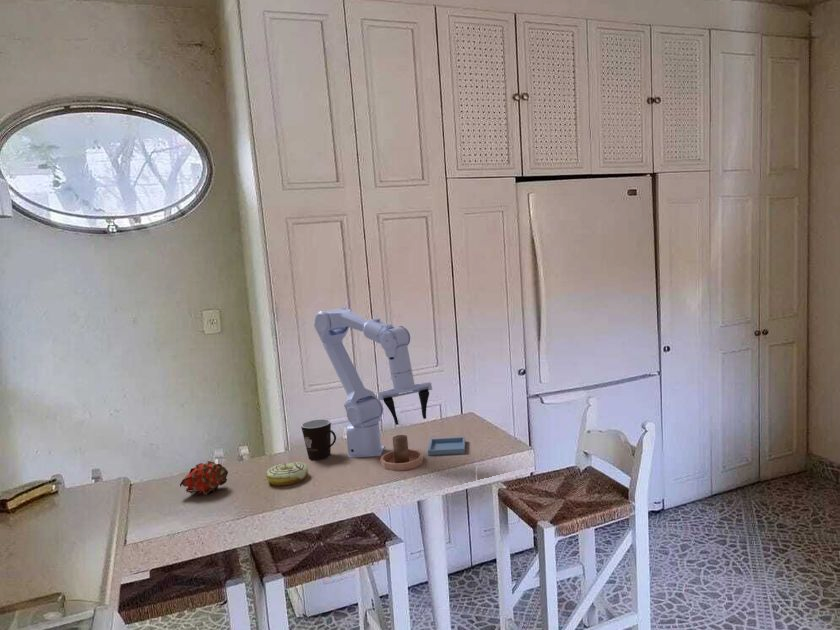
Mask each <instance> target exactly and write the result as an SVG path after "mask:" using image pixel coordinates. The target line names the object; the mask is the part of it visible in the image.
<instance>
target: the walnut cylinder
mask: <svg viewBox="0 0 840 630" xmlns="http://www.w3.org/2000/svg"><path fill="white" fill-rule="evenodd" d="M392 445H393V447H392V449H393V451H394V458H395V463H406V462H409V451H408V449H409V442H408V436H407V435H406V434H399V435H394V436H393V437H392Z"/></svg>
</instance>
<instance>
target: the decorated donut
mask: <svg viewBox="0 0 840 630" xmlns="http://www.w3.org/2000/svg"><path fill="white" fill-rule="evenodd" d="M308 473H309V471H308V465H307V464H306V463H304V462H300V461H290V462H282V463H278V464H276V465H272V466H271V467H269V468H268V470H266V480H267V481H268V482H269V483H270V485H271V484H272V486H275V485H277V486H276V487H279V486H281V485H282V486H283V485H287V486H291V485H294V484H297V483H298V482H301V481H303V479H304V480H305V479H306V478H307V475H308ZM290 484H291V485H290Z"/></svg>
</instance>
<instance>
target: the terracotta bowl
mask: <svg viewBox="0 0 840 630" xmlns="http://www.w3.org/2000/svg"><path fill="white" fill-rule="evenodd" d="M408 451H409V462H406V463H395V458H394V450H391V451H388V452H386V453H384V454H383V455H382V454H381V457H380V460H379V461H380V466H381V467H382V468H383V469H384V470H388V471H389V470H390V471H405V470H410V469H414V468H417V467H419V466H420V465H422V464H423V462H424V453H423V452H421V451H420V450H419V449H413V448H408Z"/></svg>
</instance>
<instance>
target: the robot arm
mask: <svg viewBox="0 0 840 630" xmlns="http://www.w3.org/2000/svg"><path fill="white" fill-rule="evenodd" d="M313 326H314V329H315V331H316V332H317V335H318V337H319V338H320V340H321V343H322V346H323V348H324V350H325V351H326V354H327V356H328V358H329V360H330V362H331V365H332V366H333V369H334V370H335V372H336V374H337V377H338V379H339V381H340V382H341V385H342V387H343V389H344V391H345V393H346V395H347V398H346V400H345V402H344V404H343V406H344V409H345V412H346V418H347V420H348V421H349V424H347V427H346V443H347V452H348V453H347V454H348V458H349V459H350V458H362V457H363V458H365V457H367V458H368V457H380V456H382V453H383V452H384V448H385V445H382V442H381V433H380V431H381V430H380V423H379V422H380V421H381V417H382V416H383V414H384V406H383V403H384V404H385V406H386V407H387V409H388V410H389V412H390V414H391V416H392V418H393V420H394V423H395V426H398V425H399V420H398V416H397V412H396V407H395V401H394V398H397V397H402V396H406V395H411V394H415V393H418V397H419V398H418V399H419V403H420V408H421V415H422V418H423V419H424V420H425V419H426V420H427V407H428V406H427V405H428V402H429V396H430V391H433V386H432V382H431V381H429V382H423V383H417V384H415V380H414V379H415V378H414V375H413V369H412V363H411V359H410V352H409V349H408V348H409V347H408V346H409V344H410V342H411V335H410V332H409V330H408V329H407V328H406V327H405V326H403V325H399V326H397V327H395V326H394V325H393V324H391V323H385V322H383V321H381V318H378V317H376V318H370V320H369V319H365V318H364V317H362V316H360V315H358V314H356V313H354V312H352V309H348V308H346V307H340V308H337V309H336V308H335V309H330V310H324V311H323V310H322V311H321V310H320V311H318V312H317V313H316V315H315V317H314V325H313ZM349 328H351V329H354V330H356V331H360V332H363V335H364V337H365V338H366V339H369V340H371V341H373V342H376V343H377V344H380V346H381V347H382V349H383V350H384V352H385V356H386V357H387V359H388V365H389V371H390V375H391V381H392V385H393V389H391V388H390V389H388V390H385V391H378V393H377V395H378V397H377V395H376V394H375V392H374V391H373V390H370V389H367V388H366V387H365V386H364V383H363V382H362V380H361V377H360V375H359V373H358V371H357V369H356V368H355V365H354V364H353V361H352V359H351V357H350V356H349V354H348V352H347V350H346V349H347V348H345V345H344V344H343V339H344V338H345V337H346V335H347V334H348V332H349ZM382 401H383V403H382Z"/></svg>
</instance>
